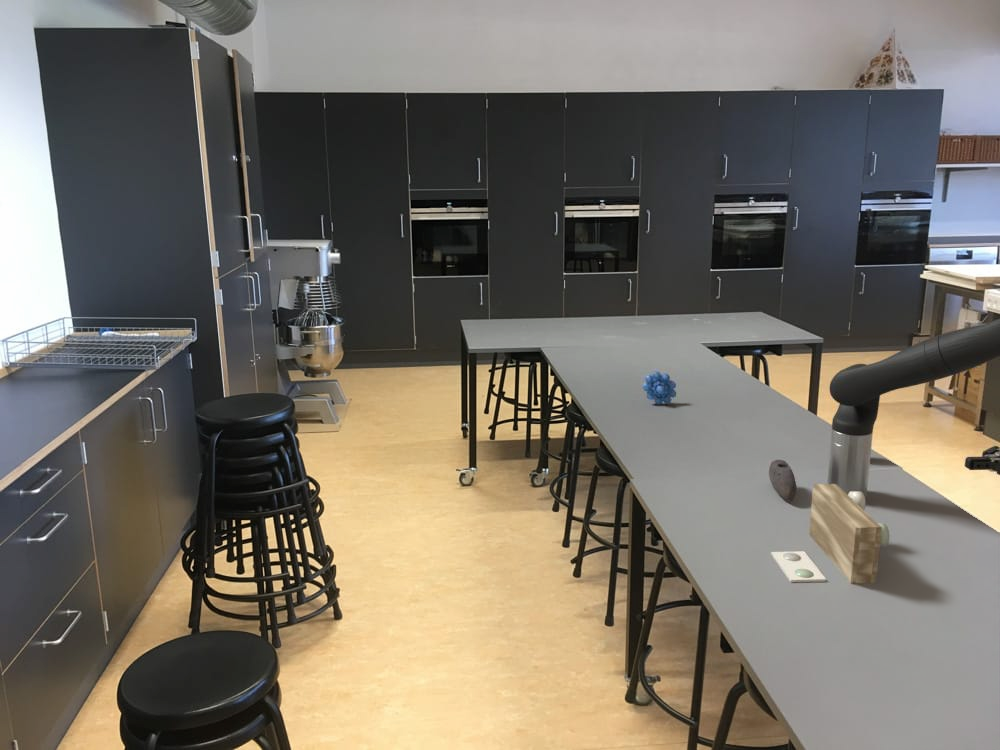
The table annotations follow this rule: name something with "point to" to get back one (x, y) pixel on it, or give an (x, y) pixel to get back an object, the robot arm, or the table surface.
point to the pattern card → (798, 567)
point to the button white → (858, 498)
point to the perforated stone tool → (782, 479)
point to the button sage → (884, 535)
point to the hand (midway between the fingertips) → (967, 463)
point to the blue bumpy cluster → (659, 388)
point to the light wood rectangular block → (845, 533)
